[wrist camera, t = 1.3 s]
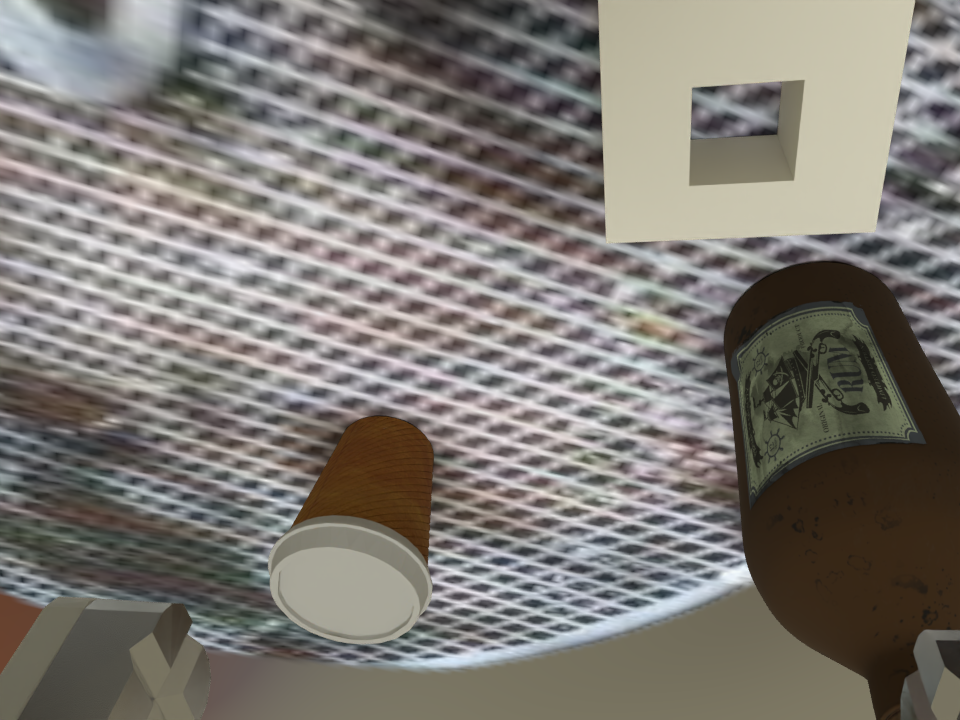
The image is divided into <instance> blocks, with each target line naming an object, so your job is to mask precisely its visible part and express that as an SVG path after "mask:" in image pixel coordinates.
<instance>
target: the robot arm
mask: <svg viewBox="0 0 960 720" xmlns="http://www.w3.org/2000/svg"><path fill="white" fill-rule="evenodd" d="M191 624H192V620H191V618H190V616H189V614H188V612H187V610H186V608H185V606H184V604H177V603H161V602H145V601H129V600H113V599H99V598H76V597H58V598H56V599H55V600H54V601H52V602H51V603H50V604H48V605H47V606H45V608H44V609H43V610H42V612H41V613H40V615H39V616H38V618H37V620H36V621H35V623H34V624H33V626H32V627H31V629H30V630H29V632H28V633H27V635H26V636H25V638H24V640H23V641H22V643H21V644H20V646H19V647H18V649H17V650H16V652H15V653H14V655H13V656H12V658H11V660H10V661H9V662H8V664H7V665H6V667H5V669H4V670H3V672H2V673H1V675H0V720H200V719H201V717H202V714H203V712H204V709H205V707H206V704H207V700H208V693H209V687H210V680H211V673H210V665H209V659H208V656H207V654H206V651H205V649H204V647H203V645H201V644H200V643H198V642H197V641H196V640H194V639H193V638H192V637H190V636H189V635H188V634H187V633H188V631H189V629H190V626H191ZM913 653H914V656H915V659H916V662H917V665H918V670H917V671H915V672H914V673H912V674H911V675H909V676H908V677H906V678H905V681H904V686H903V690H902V694H901V720H960V630H924V631H923V632H922V633H921V634H920V635H918V638H917V641H916V644H915V647H914V650H913Z"/></svg>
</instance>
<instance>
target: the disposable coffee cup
mask: <svg viewBox="0 0 960 720" xmlns="http://www.w3.org/2000/svg"><path fill="white" fill-rule="evenodd" d="M433 460H434V454H433V449H432V446H431V444H430V442H429V441H428V439H427V438H426V437H425V435H424V434H423V433H422V432H421V431H420V430H418V429H417V428H416V427H414V426H413V425H411V424H409V423H407V422H405V421H402V420H399V419H396V418H391V417H385V416H374V417H367V418H364V419H360V420H358V421H357V422H355V423H353V424H351V425H350V426H349V427H348V428H347V429H346V431H345V432H344V433H343V436H342V438H341V439H340V441H339V443H338V445H337V446H336V448H335V450H334V452H333V454H332V456H331V457H330V459H329V461H328V463H327V464H326V466H325V468H324V470H323V471H322V473H321V475H320V477H319V478H318V480H317V482H316V484H315V486H314V488H313V489H312V491H311V493H310V495H309V496H308V498H307V500H306V502H305V503H304V505H303V507H302V509H301V511H300V512H299V514H298V516H297V518H296V520H295V521H294V523H293V525H292V527H291V529H290V530H289V531H287V532H286V533H285V534H284V535H283V536H281V537H280V539H279V540H278V541H277V542H276V544H275V545H274V546H273V548H272V550H271V553H270V556H269V561H268V569H269V574H270V590H271V593H272V597H273V598H274V600H275V602H276V604H277V606H278V607H279V608H280V609H281V610H282V611H283V612H284V613H285V614H286V615H287V616H288V617H289V618H290V620H292V621H293V622H295V623H296V624H298V625H299V626H301V627H302V628H304V629H306V630H308V631H309V632H311V633H314V634H317V635H319V636H322V637H325V638H327V639H331V640H335V641H338V642H345V643H353V644H373V643H381V642H385V641H389V640H392V639H396V638H397V637H399V636H401V635H402V634H404V633H406V632H407V631H409V630H410V629H411V627H412V626H413V625H414V623H415V622H416V621H417V619H418V618H419V616H420V615H421V614H422V613H423V612H424V611H425V610H426V608H427V606H428V604H429V603H430V601H431V595H432V585H433V584H432V580H431V577H430V573H429V569H428V547H429V541H428V540H429V531H430V525H429V524H430V517H429V516H430V515H431V510H430V509H431V502H430V501H431V494H432V488H431V487H432V478H433V475H432V472H433V467H432V466H433Z"/></svg>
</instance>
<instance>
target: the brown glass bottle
mask: <svg viewBox="0 0 960 720" xmlns="http://www.w3.org/2000/svg"><path fill="white" fill-rule="evenodd" d="M724 351H725V360H726V368H727V376H728V384H729V392H730V400H731V409H732V420H733V431H734V441H735V452H736V463H737V474H738V486H739V499H740V512H741V524H742V537H743V546H744V553H745V558H746V562H747V565H748V568H749V571H750V574H751V577H752V579H753V581H754V583H755V585H756V587H757V589H758V591H759V593H760V594H761V596H762V598H763V600H764V601H765V603H766V605H767V606H768V608H769V610H770V611H771V612H772V614H773V615H774V616H775V618H776V619H777V620H778V621H779V622H780V624H781V625H782V626H783V627H784V628H785V629H787V631H789V632H790V633H791V634H792V635H793V636H795V637H796V638H797V639H798V640H800V641H801V642H803V643H804V644H806V645H807V646H809V647H810V648H812V649H814V650H815V651H817V652H819V653H821V654H822V655H824V656H826V657H828V658H830V659H832V660H834V661H836V662H837V663H839V664H841V665H843V666H845V667H847V668H848V669H850V670H852V671H854V672H856V673H858V674H859V675H861V676H863V677H864V678H866V679H867V680H868V684H869V688H870V694H871V698H872V703H873V708H874V711H875V715H876V720H901V694H902V690H903V686H904V681H905V678H906V677H908V676H909V675H911V674H912V673H914V672H915V671H917V670H918V665H917V662H916V659H915V656H914V653H913V650H914V647H915V644H916V641H917V638H918V635H920V634H921V633H922V632H923V631H924V630H960V416H959V414H958V412H957V410H956V408H955V407H954V405H953V403H952V401H951V400H950V398H949V396H948V394H947V393H946V391H945V389H944V387H943V385H942V384H941V382H940V380H939V378H938V377H937V375H936V373H935V371H934V370H933V368H932V366H931V364H930V362H929V361H928V359H927V357H926V355H925V353H924V352H923V350H922V348H921V346H920V344H919V342H918V340H917V338H916V336H915V335H914V333H913V331H912V329H911V327H910V325H909V323H908V321H907V319H906V317H905V315H904V314H903V312H902V310H901V308H900V306H899V304H898V302H897V300H896V299H895V297H894V296H893V294H892V293H891V291H890V290H889V289H888V288H887V287H886V286H885V284H884V283H882V282H881V281H880V280H879V279H878V278H876V277H875V276H873V275H872V274H870V273H868V272H866V271H864V270H862V269H859V268H857V267H854V266H850V265H846V264H840V263H831V262H816V263H807V264H801V265H797V266H793V267H789V268H786V269H784V270H781V271H778V272H776V273H774V274H772V275H770V276H768V277H766V278H765V279H763V280H761V281H760V282H758V283H757V284H756V285H754V286H753V287H752V288H751V289H749V290H748V291H747V292H746V293H745V294H744V295H743V296H742V297H741V299H740V300H739V301H738V302H737V304H736V305H735V307H734V308H733V310H732V312H731V314H730V316H729V318H728V321H727V324H726V327H725V333H724Z"/></svg>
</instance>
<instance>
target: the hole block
mask: <svg viewBox="0 0 960 720" xmlns="http://www.w3.org/2000/svg"><path fill="white" fill-rule="evenodd" d="M914 4H915V0H598V11H599V41H600V71H601V101H602V131H603V161H604V191H605V221H606V243H626V242H650V241H674V240H697V239H721V238H745V237H769V236H792V235H816V234H840V233H864V232H875V229H876V223H877V218H878V212H879V206H880V200H881V194H882V189H883V183H884V177H885V171H886V166H887V160H888V154H889V148H890V143H891V137H892V131H893V125H894V119H895V114H896V108H897V102H898V96H899V91H900V85H901V79H902V73H903V68H904V62H905V56H906V50H907V44H908V39H909V33H910V27H911V21H912V16H913V10H914ZM779 81H782V86H781V97H780V108H779V119H778V130H777V135H762V136H745V137H728V138H712V139H695V140H690V138H691V104H692V87H707V86H721V85H736V84H750V83H765V82H779Z"/></svg>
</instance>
